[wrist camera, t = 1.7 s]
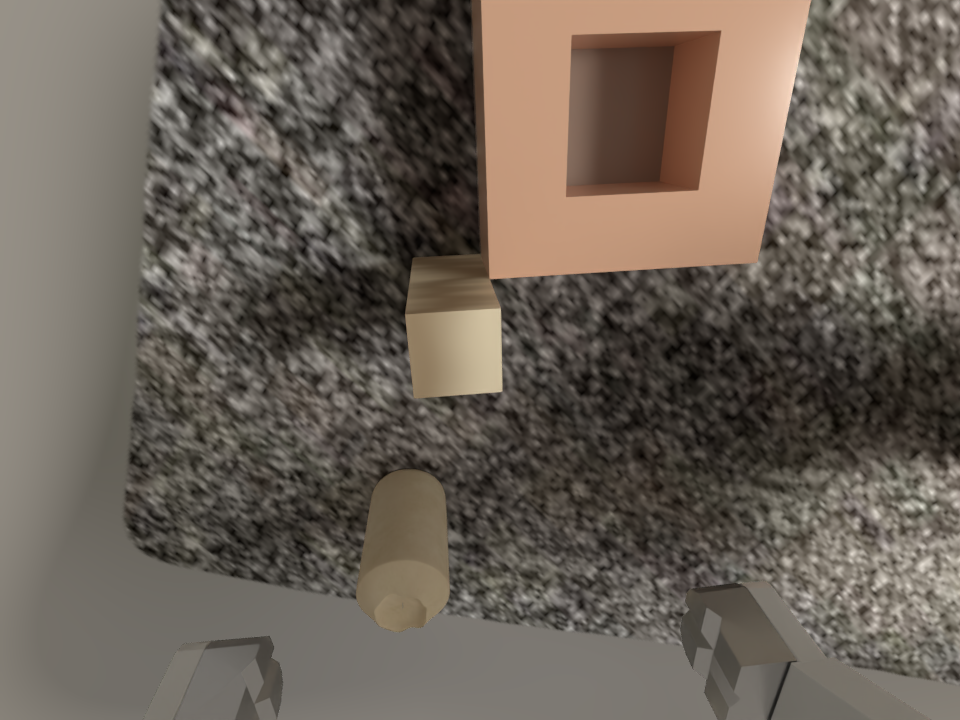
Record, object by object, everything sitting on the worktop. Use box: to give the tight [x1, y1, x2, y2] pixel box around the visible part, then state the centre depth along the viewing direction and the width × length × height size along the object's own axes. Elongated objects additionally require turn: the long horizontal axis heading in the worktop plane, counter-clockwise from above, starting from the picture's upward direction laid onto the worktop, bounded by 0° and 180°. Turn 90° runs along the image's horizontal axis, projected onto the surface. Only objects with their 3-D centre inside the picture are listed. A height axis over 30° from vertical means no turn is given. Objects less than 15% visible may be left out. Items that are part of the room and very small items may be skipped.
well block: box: [470, 0, 811, 279], centre depth 25 cm, size 14×14×6 cm
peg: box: [405, 254, 502, 398], centre depth 26 cm, size 4×4×10 cm
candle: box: [356, 469, 450, 632], centre depth 33 cm, size 6×6×10 cm
